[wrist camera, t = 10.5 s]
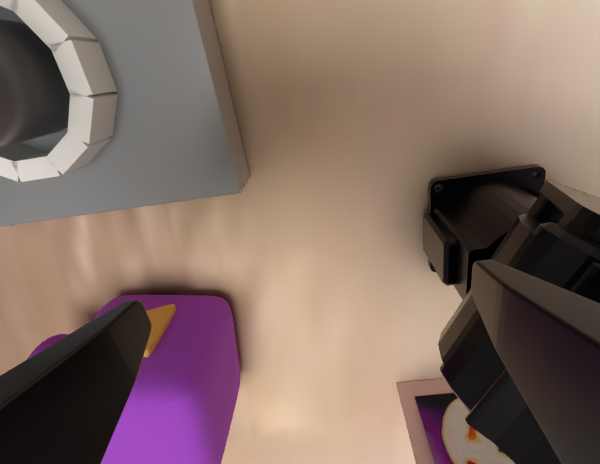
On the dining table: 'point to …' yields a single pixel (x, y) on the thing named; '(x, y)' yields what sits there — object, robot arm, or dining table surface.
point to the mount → (126, 111)
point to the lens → (29, 86)
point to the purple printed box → (443, 426)
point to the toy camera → (178, 383)
